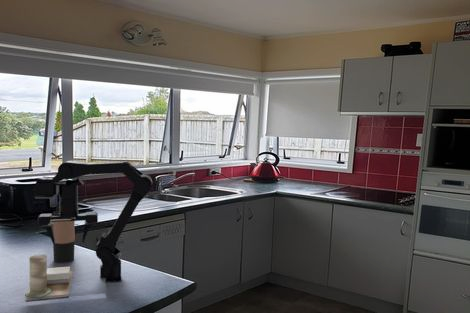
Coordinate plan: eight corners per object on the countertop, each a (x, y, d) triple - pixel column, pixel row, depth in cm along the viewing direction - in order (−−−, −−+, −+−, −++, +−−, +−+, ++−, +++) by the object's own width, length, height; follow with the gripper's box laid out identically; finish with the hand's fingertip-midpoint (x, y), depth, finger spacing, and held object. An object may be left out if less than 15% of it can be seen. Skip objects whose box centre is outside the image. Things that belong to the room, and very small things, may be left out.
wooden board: (73, 272, 147) (73, 268, 147) (68, 298, 127) (68, 293, 126) (34, 275, 144) (34, 271, 143) (23, 302, 123) (23, 297, 122)
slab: (70, 277, 140) (70, 266, 139) (68, 284, 134) (68, 272, 134) (41, 280, 137) (41, 268, 136) (38, 287, 131) (38, 275, 131)
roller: (42, 287, 130) (41, 253, 130) (49, 291, 127) (49, 256, 127) (26, 291, 127) (26, 257, 126) (34, 296, 124) (34, 260, 123)
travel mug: (53, 260, 160) (53, 210, 158) (74, 258, 163) (74, 209, 161) (53, 267, 153) (52, 214, 151) (75, 264, 156) (75, 213, 154)
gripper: (97, 193, 149) (97, 235, 150) (41, 194, 143) (41, 238, 144) (97, 199, 138) (97, 244, 140) (37, 200, 132) (37, 247, 134)
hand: (68, 243), depth 140 cm, fingers open, 9 cm apart
